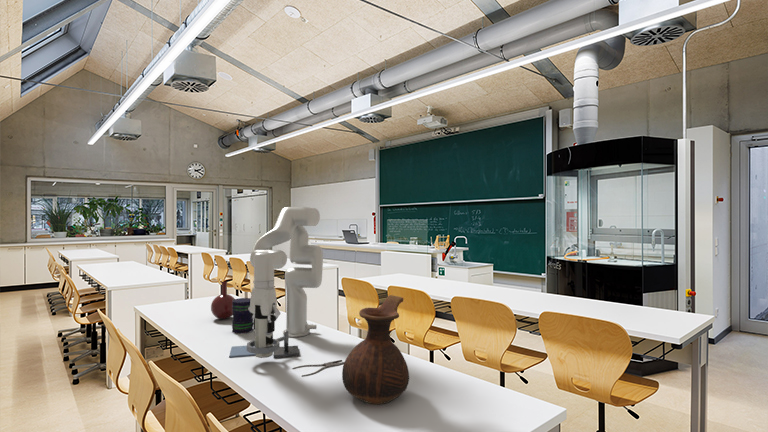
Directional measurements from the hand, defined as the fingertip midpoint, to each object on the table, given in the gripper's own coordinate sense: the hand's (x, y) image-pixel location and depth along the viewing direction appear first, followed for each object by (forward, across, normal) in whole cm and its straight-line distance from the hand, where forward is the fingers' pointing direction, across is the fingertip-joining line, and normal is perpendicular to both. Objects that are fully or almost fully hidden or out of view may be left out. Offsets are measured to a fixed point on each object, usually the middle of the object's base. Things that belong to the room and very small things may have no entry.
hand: (263, 330), depth 159 cm
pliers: (+13, +21, +7) cm, 25 cm away
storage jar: (+13, -40, +26) cm, 49 cm away
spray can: (+10, 0, 0) cm, 10 cm away
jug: (+12, +52, -3) cm, 53 cm away
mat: (+13, -15, +5) cm, 20 cm away
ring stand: (+12, 0, +5) cm, 13 cm away
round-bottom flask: (+14, -66, +36) cm, 77 cm away
